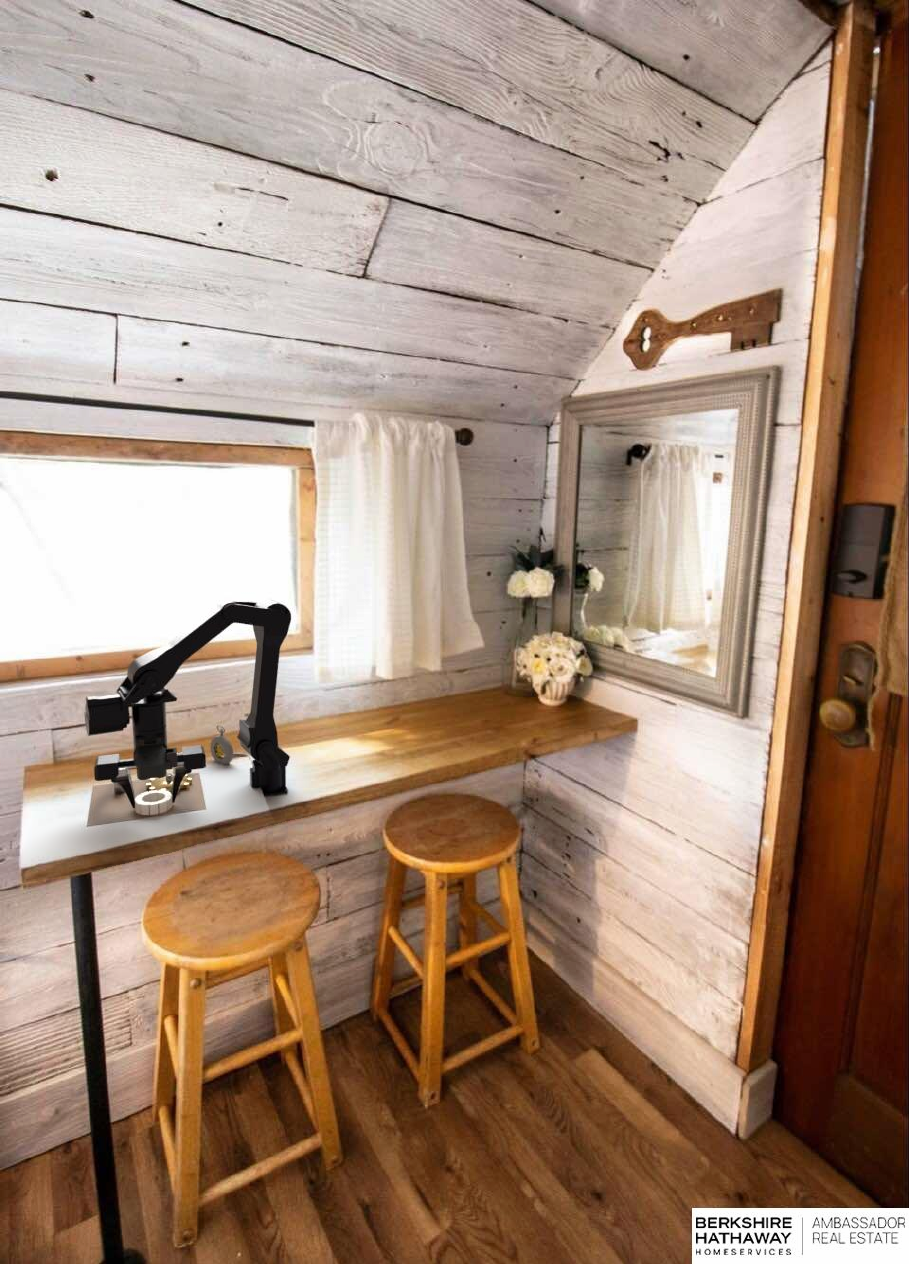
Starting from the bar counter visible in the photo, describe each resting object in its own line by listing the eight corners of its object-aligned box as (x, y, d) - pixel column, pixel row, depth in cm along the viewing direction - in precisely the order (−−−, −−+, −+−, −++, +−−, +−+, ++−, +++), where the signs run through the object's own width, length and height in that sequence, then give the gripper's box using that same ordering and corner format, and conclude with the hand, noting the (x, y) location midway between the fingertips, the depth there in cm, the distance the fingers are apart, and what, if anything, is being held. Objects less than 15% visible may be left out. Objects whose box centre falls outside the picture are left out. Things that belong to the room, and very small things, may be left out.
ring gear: (171, 797, 133) (171, 788, 132) (173, 811, 127) (172, 801, 127) (135, 802, 130) (134, 792, 130) (135, 817, 125) (134, 807, 124)
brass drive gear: (190, 775, 143) (190, 764, 143) (193, 791, 136) (192, 780, 136) (146, 780, 140) (145, 770, 139) (146, 797, 132) (145, 786, 132)
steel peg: (125, 789, 136) (125, 777, 135) (125, 793, 134) (124, 781, 133) (114, 791, 135) (113, 778, 134) (114, 795, 133) (113, 782, 132)
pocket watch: (253, 758, 158) (252, 716, 156) (243, 772, 149) (242, 729, 147) (217, 757, 157) (216, 715, 155) (205, 771, 149) (204, 728, 147)
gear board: (199, 779, 145) (199, 772, 145) (206, 816, 129) (206, 808, 129) (93, 792, 137) (93, 785, 137) (87, 834, 121) (86, 826, 121)
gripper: (89, 747, 115) (95, 832, 118) (207, 735, 122) (209, 815, 125) (93, 726, 124) (99, 805, 128) (202, 716, 132) (204, 791, 135)
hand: (153, 804), depth 129 cm, fingers closed on ring gear, 6 cm apart
